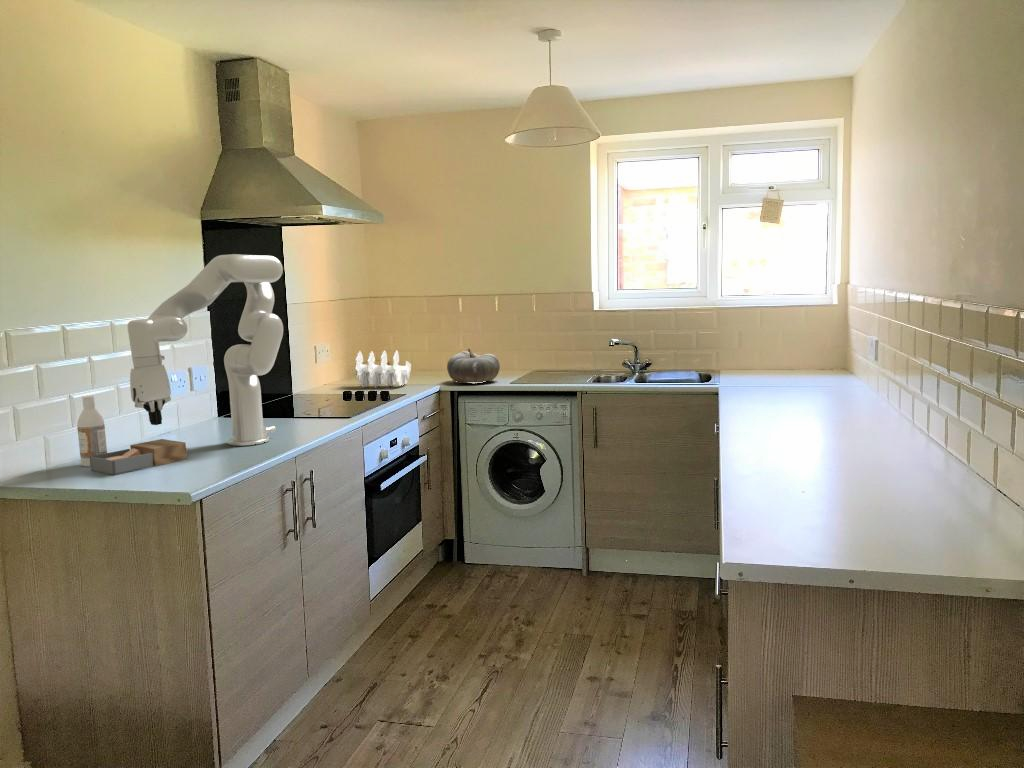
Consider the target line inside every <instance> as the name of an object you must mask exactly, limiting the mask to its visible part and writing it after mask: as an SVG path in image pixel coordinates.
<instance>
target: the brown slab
mask: <svg viewBox="0 0 1024 768" xmlns="http://www.w3.org/2000/svg"><path fill="white" fill-rule="evenodd" d="M129 446H130V448H129V449H130V450H131V449H133V448H134V449H137V450H139V452H140V453H141V455H142V454H147V453H152V454H153V465H154V467H159V466H163V465H167V464H171V463H172V464H173V463H176V462H180V461H184V460H187V459H188V456H187V447H186V446H187V445H186V442H183V441H177V440H172V439H164V438H160V439H154V440H149V441H144V442H139V443H134V444H130V445H129Z"/></svg>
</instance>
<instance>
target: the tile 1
mask: <svg viewBox="0 0 1024 768" xmlns="http://www.w3.org/2000/svg"><path fill="white" fill-rule="evenodd" d="M138 455H141V453H140V452H139V450H137V449H134V448H133V449H131V448H130V450H129V451H128V452H126V453H125V454H123V455H122V457H126V458H128V457H133V456H138Z"/></svg>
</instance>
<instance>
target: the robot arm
mask: <svg viewBox="0 0 1024 768" xmlns="http://www.w3.org/2000/svg"><path fill="white" fill-rule="evenodd" d="M283 271H284V267H283V264H282V262H281V260H279V259H278V258H277V257H275V256H273V255H270V254H268V255H266V254H265V255H261V254H259V255H257V254H239V253H236V254H235V253H232V254H220V255H217V256H215V257H213V258H212V259H211V260H210V261H209V262H208V263H207V264H206V265H205V266H204V268H202V269H201V271H199V273H197V275H196V276H195V277H194V278H193V279H192V280H191V281H190V282H189V283H188V284H186V286H184V287H182V288H181V289H180V290H178V291H177V292H176V293H174V294H173V295H171V296H170V297H168V298H167V299H166V300H165V301H163V302H162V303H161V304H160V305H159V306H158V307H157V308H156V309H155V310H154V311H153V312H152V313H151V314H150V315H149V316H148V317H147V318H141V319H139V318H138V319H133V320H130V321H128V322H127V332H128V333H127V334H128V340H129V345H130V353H131V358H132V359H131V360H132V365H133V368H131V369H130V376H129V387H130V388H129V389H130V398H131V401H132V402H133V403H134V408H139V409H141V408H142V409H143V410H145V411H146V412H147V413H148V420H149V424H150V425H153V426H158V425H162V424H163V422H162V420H163V417H162V410H163V407H164V405H165V404H166V403H169V402H170V401H171V400H172V397H171V396H172V395H171V393H172V392H171V391H172V390H171V389H172V388H171V384H170V379H169V376H168V375H169V374H168V372H167V370H166V367H165V364H162V363H163V361H165V356H164V355H162V354H161V349H160V343H162V342H172V343H173V342H177V341H180V340H181V339H183V338H185V336H186V335H187V333H188V324H187V323H186V322H185V320H184V318H185V317H187V316H188V315H190V314H193V313H195V312H198V311H200V310H203V309H205V308H207V307H208V306H210V305H211V304H212V303H214V301H215V300H216V299H217V298H218V297H219V296H220V295H221V293H223V291H224V290H225V289H226V288H228V286H229V285H230V284H231V283H243V284H244V285H245V287H246V294H247V295H246V296H247V297H246V301H245V303H244V304H245V305H244V309H243V311H242V313H241V317H240V320H239V323H238V326H237V327H238V329H237V332H238V336H239V337H240V338H241V339H242V340H244V341H246V342H250V344H244V343H243V344H242V343H241V344H235V345H232V346H230V347H229V348H228V349H227V350H226V352H225V354H224V357H223V363H224V369H225V372H226V376H227V382H228V389H229V390H228V391H229V405H230V416H231V417H230V418H231V428H232V430H231V432H232V437H231V438H230V439H228V440H227V443H228V445H230V446H235V447H236V446H237V447H240V446H241V447H245V446H255V444H256V445H261V444H265V443H267V442H269V441H270V436H269V435H268V434H270V433H271V434H272V433H274V432H276V431H277V428H276V426H274V425H272V426H269V427H267V426H266V425H264V419H263V418H264V417H263V406H262V405H263V404H262V389H261V388H262V387H261V383H260V379H259V377H260V376H263V375H266V374H268V373H269V372H270V371H271V370H272V368H273V367H274V365H275V361H276V360H277V356H278V352H279V349H280V346H281V342H282V340H283V336H284V324H283V321H282V319H281V318H280V317H279V315H277V314H275V313H273V309H274V305H275V300H276V299H275V293H274V290H273V287H272V284H271V283H275V282H277V281H279V279H280V278H281V277H282V275H283ZM258 376H259V377H258ZM264 442H265V443H264Z"/></svg>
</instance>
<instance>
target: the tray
mask: <svg viewBox="0 0 1024 768" xmlns="http://www.w3.org/2000/svg"><path fill="white" fill-rule="evenodd" d="M129 450H131V448H126V449H122V450H116V451H112V452H111V451H110V452H107V453H105V454H100V455H95V456H90V465H91V467H90V471H92V472H96V473H102V474H105V475H111V476H118V475H122V474H126V473H131V472H136V471H141V470H144V469H149V468H154V467H155V466H154V465H153V454H152V453H147V454H142V455H138V456H133V457H128V458H123V459H118V460H108V459H105V458H110V457H115V456H122V455H123V454H125V453H126V452H128V451H129Z"/></svg>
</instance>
